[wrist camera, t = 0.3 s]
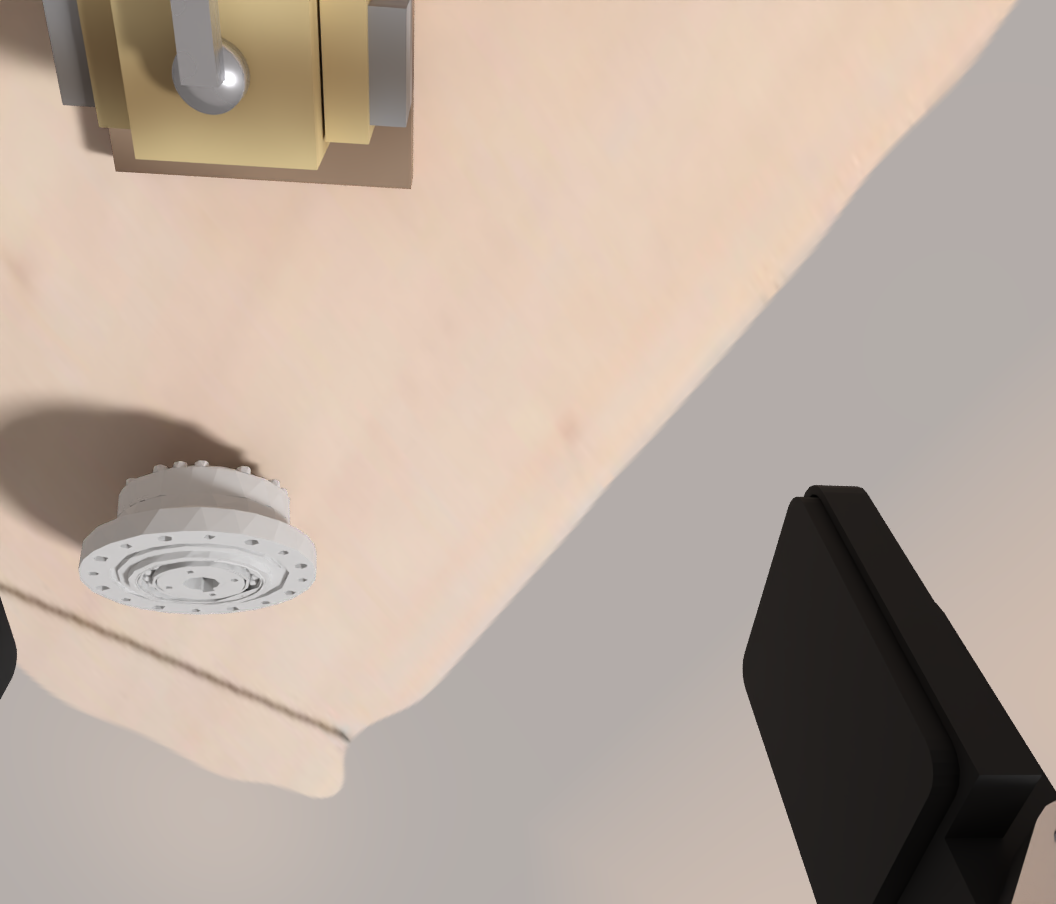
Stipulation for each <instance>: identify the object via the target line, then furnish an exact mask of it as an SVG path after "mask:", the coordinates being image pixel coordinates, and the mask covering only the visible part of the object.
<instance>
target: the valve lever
mask: <svg viewBox="0 0 1056 904" xmlns="http://www.w3.org/2000/svg"><path fill="white" fill-rule="evenodd" d="M170 3H171V11H172V19H173V27H174V35H175V43H176V51H177V54H176V56H175V58H174V61H173V64H172V79H173V83H174V86H175V88H176V90H177V92H178V94H179V95H180V97H181V98H182V99H183V100H184V101H185V103H187V104H188V105H189V106H190V107H192V108H193V109H195V110H197V111H199V112H201V113H204V114H209V115H219V114H223V113H226V112H228V111H230V110H231V109H233V108H234V107H235V106H236V105H237V104H238V103H239V102H240V100H241V99H242V98H243V97H244V96H245V94H246V93H247V91H248V88H249V85H250V69H249V66H248V63H247V60H246V59H245V57H244V55H243V54H242V52H241V51H240V50H239V49H238V48H237V47H236V46H235V45H234V44H233V43H231V42H230V41H228V40H226V39H224V38H222V37H221V29H220V19H219V9H218V0H170Z"/></svg>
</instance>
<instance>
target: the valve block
mask: <svg viewBox="0 0 1056 904" xmlns="http://www.w3.org/2000/svg"><path fill="white" fill-rule="evenodd" d="M42 1H43V6H44V11H45V16H46V21H47V27H48V32H49V37H50V42H51V47H52V52H53V57H54V62H55V67H56V73H57V78H58V83H59V88H60V93H61V98H62V103H63V105H72V106H87V107H96V113H97V119H98V124H99V127H103V128H108V129H109V135H110V140H111V146H112V152H113V158H114V164H115V170H116V171H118V172H135V173H151V174H168V175H185V176H202V177H218V178H235V179H252V180H268V181H285V182H302V183H318V184H335V185H352V186H369V187H385V188H402V189H411V185H412V179H413V83H414V0H218V9H219V19H220V29H221V37H222V38H224V39H226V40H228V41H230V42H231V43H233V44H234V45H235V46H236V47H237V48H238V49H239V50H240V51H241V52H242V54H243V55H244V57H245V59H246V60H247V63H248V66H249V69H250V85H249V88H248V91H247V93H246V94H245V96H244V97H243V98H242V99H241V100H240V102H239V103H238V104H237V105H236V106H235V107H234V108H233V109H231V110H230V111H228V112H226V113H223V114H219V115H209V114H204V113H201V112H199V111H197V110H195V109H193V108H192V107H190V106H189V105H188V104H187V103H185V101H184V100H183V99H182V98H181V97H180V95H179V94H178V92H177V90H176V88H175V86H174V83H173V79H172V64H173V61H174V58H175V56H176V54H177V51H176V43H175V35H174V27H173V19H172V11H171V3H170V0H42Z"/></svg>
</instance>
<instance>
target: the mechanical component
mask: <svg viewBox="0 0 1056 904" xmlns="http://www.w3.org/2000/svg"><path fill="white" fill-rule="evenodd" d="M289 504H290V498H289V497H288V493H287V489H285V488H280V482H279V481H278V480H275V479H274V480H266V479H265V478H261V477H258V476H255V475H253V474H251V469H250V468H249V467H247V466H240V467H237V469H232V468H227V467H222V466H209V463H208V462H207V461H202V460H199V461H197V462H195V465H192V466H187V463H185V462H182V461H178V462H174V465H173V467H172V468H169V469H168V468H167V466H165V465H156V466H154V469H153V473H151V474H148V475H145V476H142V477H138V478H129V479H127V480H126V486H125V487H124V488H123V489H122V491H121V493H120V494H119V500H118V512H117V518H116V519H114V520H112V521H109V522H107V523H104V524H102V525H99V526H98V527H97V528H96V529H95V530H94V531H92V532H91V533H90V534H89V535H88V536H87V537H86V538H85V539H84V540H83V544H82V551H81V557H80V563H79V574H80V580H81V581H82V582H83V583H84V584H85V585H86V586H87V587H88V588H89V589H90V590H91V591H92V592H94V593H96V594H99V595H101V596H103V597H105V598H108V599H110V600H112V601H115V602H117V603H120V604H123V605H127V606H131V607H135V608H139V609H145V610H152V611H159V612H166V613H179V614H225V613H233V612H241V611H250V610H256V609H260V608H264V607H268V606H273V605H277V604H280V603H282V602H285V601H288V600H291V599H293V598H295V597H296V596H298V595H300V594H301V593H303V592H305V591H306V590H308V589H309V587H310V586H311V585H312V583H313V582H314V581H315V578H316V549H315V544H314V543H313V542H312V541H311V539H310V538H309V537H308V536H307V535H306V534H305V533H303V532H302V531H300V530H299V529H297V528H296V527H294V526H291V525H290V508H289Z"/></svg>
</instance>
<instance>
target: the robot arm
mask: <svg viewBox="0 0 1056 904" xmlns="http://www.w3.org/2000/svg"><path fill="white" fill-rule="evenodd" d="M16 660H17V649H16V644H15V641H14V638H13V635H12V632H11V629H10V625H9V622H8V619H7V616H6V613H5V610H4V607H3V604H2V601H1V598H0V699H1V697H2V695H3V693H4V692H5V690H6V688H7V686H8V684H9V682H10V681H11V678H12V676H13V674H14V670H15V667H16ZM743 679H744V684H745V688H746V692H747V694H748V697H749V700H750V704H751V707H752V710H753V713H754V715H755V719H756V722H757V725H758V728H759V731H760V734H761V737H762V740H763V742H764V746H765V749H766V752H767V755H768V757H769V761H770V764H771V767H772V770H773V773H774V776H775V779H776V782H777V785H778V788H779V791H780V794H781V797H782V800H783V803H784V806H785V809H786V812H787V815H788V818H789V821H790V824H791V827H792V830H793V833H794V836H795V839H796V842H797V845H798V848H799V851H800V854H801V857H802V860H803V863H804V866H805V869H806V872H807V875H808V878H809V881H810V884H811V887H812V890H813V893H814V896H815V899H816V902H817V904H1056V791H1055V789H1054V788H1053V786H1052V785H1051V783H1050V781H1049V780H1048V778H1047V777H1046V775H1045V773H1044V772H1043V770H1042V769H1041V767H1040V765H1039V764H1038V762H1037V761H1036V759H1035V757H1034V756H1033V754H1032V753H1031V751H1030V749H1029V748H1028V746H1027V745H1026V743H1025V741H1024V740H1023V738H1022V737H1021V735H1020V733H1019V732H1018V730H1017V729H1016V727H1015V725H1014V724H1013V722H1012V721H1011V719H1010V717H1009V716H1008V714H1007V713H1006V711H1005V709H1004V708H1003V706H1002V705H1001V703H1000V701H999V700H998V698H997V697H996V695H995V693H994V692H993V690H992V689H991V687H990V685H989V684H988V682H987V681H986V679H985V677H984V676H983V674H982V673H981V671H980V669H979V668H978V666H977V665H976V663H975V661H974V660H973V658H972V657H971V655H970V653H969V652H968V650H967V649H966V647H965V645H964V644H963V642H962V641H961V639H960V638H959V636H958V634H957V633H956V631H955V629H954V628H953V626H952V625H951V623H950V621H949V620H948V618H947V617H946V615H945V613H944V612H943V611H942V610H941V609H940V607H939V606H938V605H937V604H936V603H935V602H934V600H933V599H932V597H931V595H930V594H929V592H928V591H927V589H926V587H925V586H924V584H923V583H922V581H921V579H920V578H919V576H918V574H917V573H916V571H915V570H914V569H913V566H912V565H911V563H910V562H909V560H908V558H907V557H906V555H905V554H904V552H903V550H902V549H901V547H900V545H899V544H898V542H897V541H896V539H895V537H894V536H893V534H892V533H891V531H890V529H889V528H888V526H887V524H886V523H885V521H884V520H883V518H882V517H881V515H880V513H879V512H878V510H877V508H876V507H875V505H874V504H873V502H872V500H871V499H870V497H869V496H868V494H867V493H866V492H865V490H864V489H863V488H860V487H855V486H823V485H814V486H811V487H809V489H808V490H807V491H806V492H805V495H804V497H795V498H793V499H792V501H791V502H790V505H789V507H788V510H787V513H786V517H785V520H784V524H783V527H782V531H781V534H780V537H779V540H778V544H777V547H776V550H775V554H774V557H773V560H772V564H771V567H770V571H769V574H768V577H767V580H766V584H765V587H764V590H763V594H762V597H761V601H760V604H759V607H758V610H757V614H756V618H755V620H754V624H753V627H752V630H751V634H750V637H749V641H748V644H747V647H746V651H745V654H744V659H743Z"/></svg>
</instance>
